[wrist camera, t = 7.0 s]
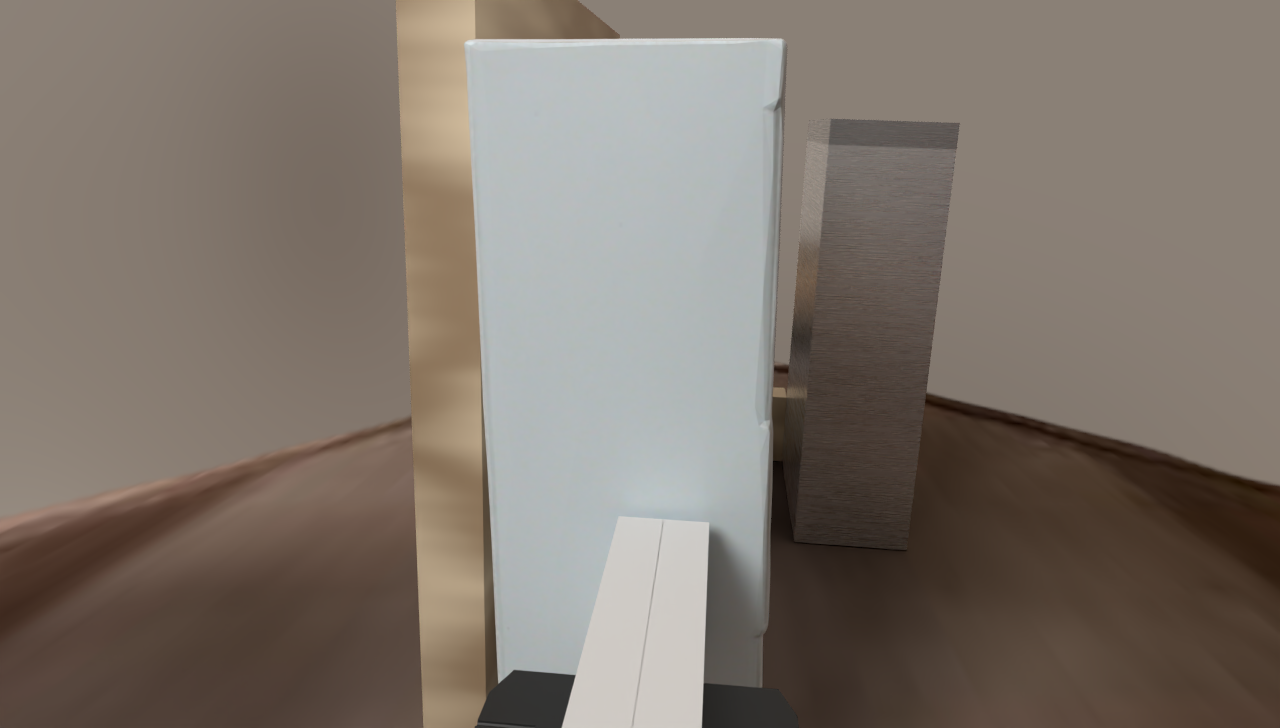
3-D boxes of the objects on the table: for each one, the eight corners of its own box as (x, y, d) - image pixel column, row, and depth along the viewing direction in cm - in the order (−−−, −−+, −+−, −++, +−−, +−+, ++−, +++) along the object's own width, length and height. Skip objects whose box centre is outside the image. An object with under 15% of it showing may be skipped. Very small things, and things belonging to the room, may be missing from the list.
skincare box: (595, 476, 37) (603, 81, 33) (724, 483, 37) (749, 86, 33) (473, 901, 17) (453, 13, 13) (758, 923, 17) (836, 24, 12)
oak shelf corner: (779, 449, 41) (812, 40, 36) (833, 793, 20) (927, -79, 15) (578, 436, 42) (584, 34, 37) (424, 753, 21) (392, -86, 16)
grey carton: (871, 467, 39) (909, 123, 35) (906, 550, 32) (959, 123, 28) (781, 461, 40) (808, 120, 36) (794, 541, 32) (830, 119, 28)
